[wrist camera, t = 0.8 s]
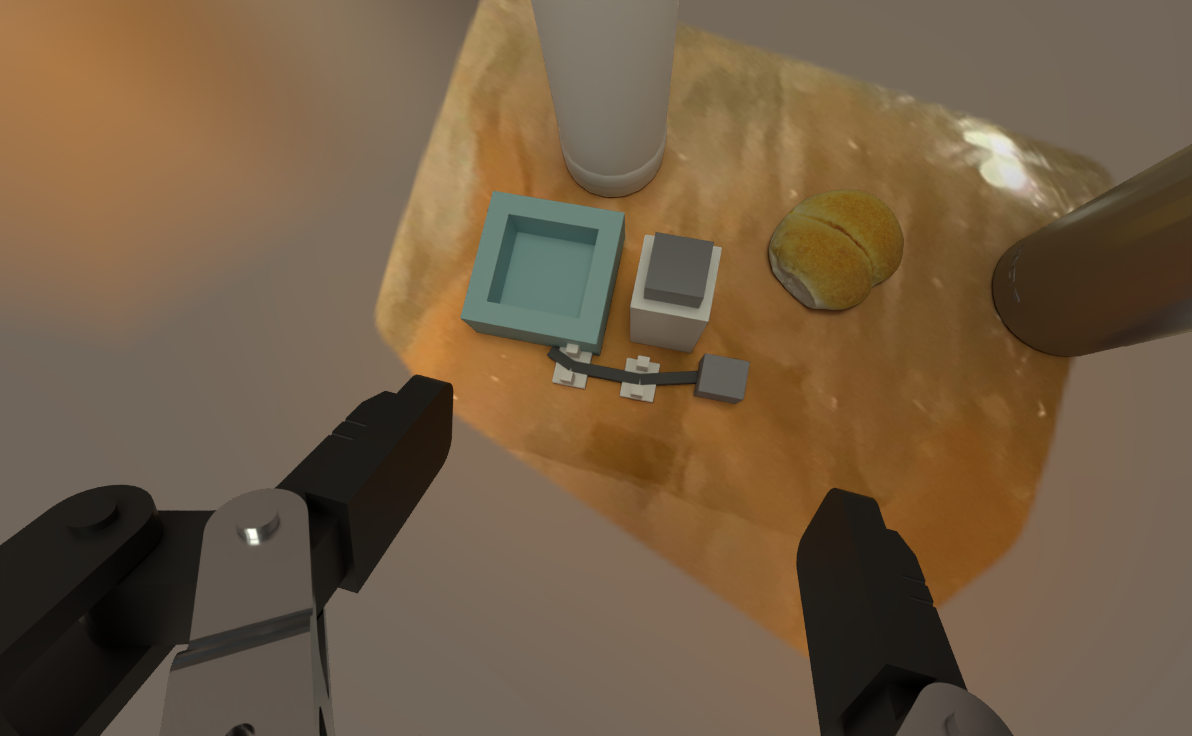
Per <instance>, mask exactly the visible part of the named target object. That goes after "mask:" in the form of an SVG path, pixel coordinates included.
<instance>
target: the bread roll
mask: <svg viewBox="0 0 1192 736" xmlns="http://www.w3.org/2000/svg"><path fill="white" fill-rule="evenodd" d="M903 244H904V239H903V234H902V230H901V227H900V225H899V222H898V220H897V218H896V216H895V215H894V213H893V212H892V211H891V209H890V208H889V207H888V206H887V205H886V204H885V203H884V202H882V201H881V200H880V199H878V198H877V197H875V196H873V195H872V194H869V193H866V192H862V191H858V190H836V191H830V192H825V193H821V194H817V195H814V196H812V197H810V198H808V199H806V200H804V201H803V202H801V203H800V204H798V205H797V206H796V207H795V208H794V209H793V210H792V211H791V212H790V213H789V214H788V215H787V216H786V217H785V218H784V219H783V221H782V222H781V223H780V224H779V226H778V227H777V229H776V230H775V232H774V234H773V236H772V239H771V243H770V246H769V258H770V262H771V266H772V271H773V273H774V274H775V276H776V277H777V278H778V279H779V280H780V281H781V283H782V284H783V285H784V287H785V288H786V289H787V290H788V291H789V292H790V293H791V294H792V295H793V296H794V297H796V298H797V299H798V300H799V301H800V302H801V303H803V304H804V305H806V306H807V307H809V308H812V309H829V310H842V309H846V308H849V307H852V306H854V305H857V304H859V303H860V302H862V301H863V300H864V299H865V298H866V297H867V296H868V294H869V293H870V291H871V288H872V287H873V286H874V285H875V284H878V283H880V282H882V281H884V280H885V279H887V278H889V277H890V276H891V275H892V274H893V273H894V272H895V271H896V270H897V268H898V267H899V264H900V262H901V259H902V254H903Z"/></svg>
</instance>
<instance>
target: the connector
mask: <svg viewBox="0 0 1192 736" xmlns="http://www.w3.org/2000/svg"><path fill="white" fill-rule="evenodd" d="M713 245H714V242H711V241H705V240H699V239H693V238H687V237H681V236H675V235H669V234H663V233H657V232H656V233H655V236H651V235H645V238H644V243H643V248H642V253H641V257H640V262H639V267H638V272H637V277H636V282H635V287H634V291H633V296H632V301H631V306H630V342H635V343H640V344H645V345H650V346H656V347H661V348H666V349H671V350H677V351H682V352H687V353H691V352H692V350H693V348H694V346H695V345H696V343H697V341H698V339H699V338H700V336H701V334H702V332H703V330H704V329H705V327H706V325H707V323H708V321H709V316H710V310H711V305H712V299H713V294H714V288H715V283H716V277H717V272H718V266H719V260H720V255H721V249H722V247H716V246H713Z"/></svg>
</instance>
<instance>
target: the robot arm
mask: <svg viewBox="0 0 1192 736" xmlns="http://www.w3.org/2000/svg"><path fill="white" fill-rule="evenodd" d="M993 296H994V300H995V304H996V308H997V310H998V312H999V314H1000V316H1001V318H1002V320H1003V321H1004V322H1005V324H1006V325H1007V326H1008V328H1009V329H1010V330H1011V331H1012V332H1013V333H1014V334H1015V335H1016V336H1017V337H1018V338H1020V339H1021V340H1022V341H1023V342H1025V343H1027V344H1028V345H1030V346H1032V347H1033V348H1035V349H1037V350H1040V351H1043V352H1046V353H1048V354H1052V355H1058V356H1064V357H1066V356H1082V355H1087V354H1091V353H1095V352H1100V351H1104V350H1109V349H1113V348H1118V347H1121V346H1130V345H1134V344H1138V343H1143V342H1147V341H1151V340H1155V339H1160V338H1164V337H1168V336H1173V335H1177V334H1181V333H1186V332H1190V331H1192V144H1191V145H1189V146H1187V147H1185V148H1184V149H1182V150H1180V151H1178V152H1177V153H1175V154H1173V155H1171V156H1169V157H1168V158H1166V159H1164V160H1162V161H1161V162H1159V163H1157V164H1155V165H1153V166H1152V167H1150V168H1148V169H1146V170H1145V171H1143V172H1141V173H1139V174H1137V175H1136V176H1134V177H1132V178H1130V179H1129V180H1127V181H1125V182H1123V183H1122V184H1120V185H1118V186H1116V187H1114V188H1113V189H1111V190H1109V191H1107V192H1105V193H1104V194H1102V195H1100V196H1098V197H1097V198H1095V199H1093V200H1091V201H1089V202H1088V203H1086V204H1084V205H1082V206H1081V207H1079V208H1077V209H1075V210H1073V211H1072V212H1070V213H1068V214H1066V215H1065V216H1063V217H1061V218H1059V219H1057V220H1055V221H1054V222H1052V223H1050V224H1048V225H1047V226H1045V227H1043V228H1041V229H1040V230H1038V231H1036V232H1034V233H1032V234H1031V235H1029V236H1027V237H1025V238H1024V239H1022V240H1020V241H1019V242H1017V243H1016V244H1015V245H1013V246H1012V247H1011V248H1009V249H1008V251H1007V252H1006V253H1005V254H1004V255H1003V256H1002V258H1001V259H1000V261H999V263H998V265H997V268H996V270H995V274H994V279H993ZM452 416H453V386H452V384H451V383H448V382H444V381H440V380H436V379H433V378H429V377H425V376H422V375H414V376H413V377H412V378H411V379H410V380H409V381H408V382H407V383H406V384H405V385H404V386H403V387H402V388H401V390H399V392H398V393H397V394H395V393H392V392H388V391H384V392H382V393H380V394H378V395H376V396H374V397H372V398H370V399H368V400H366V401H364V402H362V403H361V404H360V405H359V406H358V407H357V408H356V409H355V410H354V411H353V412H352V413H351V414H350V415H349V416H348V417H347V418H346V420H345V422H342V423H341V424H339V425H338V427H337V428H335V429H334V430H333V432H332V435H328V436H327V437H326V438H325V439H324V440H323V441H322V442H321V443H320V444H319V445H318V446H317V447H316V448H315V449H314V450H313V451H312V452H311V453H310V454H309V455H308V456H307V457H306V458H305V459H304V460H303V461H302V462H301V463H300V464H299V465H298V466H297V467H296V468H295V469H294V470H293V471H292V472H291V473H290V474H289V475H288V476H287V477H286V478H285V479H284V480H283V481H282V482H281V483H280V484H279V485H278V486H277V487H275V488H274V489H260V490H256V491H251V492H248V493H245V494H242V495H240V496H238V497H236V498H233V499H232V500H230V501H228V502H227V503H225V504H224V505H223V506H221V507H220V508H219V509H218V510H214V511H159V510H158V511H157V509H156V506H155V504H154V501H153V499H152V497H151V495H150V494H149V493H148V492H147V491H145V490H143V489H141V488H139V487H136V486H130V485H110V486H104V487H98V488H94V489H90V490H87V491H84V492H81V493H78V494H76V495H74V496H71V497H69V498H67V499H65V500H63V501H62V502H60V503H58V504H56V505H55V506H53V507H52V508H50V509H49V510H47V511H46V512H45V513H43V514H42V515H41V516H39V517H38V518H37V519H35V520H34V521H33V522H31V523H30V524H29V525H27V526H26V527H25V528H23V529H22V530H20V531H19V532H18V533H17V534H15V535H14V536H12V537H11V538H10V539H8V540H7V541H6V542H4V543H3V544H2V545H0V736H100V735H101V733H102V732H103V731H104V730H105V729H106V728H107V726H108V725H109V724H110V723H111V721H112V720H113V719H114V718H115V717H116V716H117V715H118V713H119V712H120V711H121V710H122V709H123V707H124V706H125V705H126V704H127V703H128V701H129V700H130V699H131V698H132V697H133V695H134V694H135V693H136V692H137V691H138V689H139V688H140V687H141V685H143V684H144V682H145V681H146V680H147V679H148V678H149V676H150V675H151V674H152V673H153V672H154V670H155V669H156V668H157V667H158V666H159V664H160V663H161V662H162V661H163V660H164V658H165V657H166V656H167V655H168V654H169V652H170V651H171V650H172V649H173V647H175V645H179V644H189V645H188V648H187V650H185V651H182V652H179V653H177V654H176V656H175V658H174V660H173V662H172V665H171V668H170V673H169V678H168V684H167V690H166V698H165V704H164V710H163V717H162V723H161V730H160V736H335V728H334V720H333V710H332V698H331V683H330V670H329V655H328V641H327V628H326V613H325V605H326V603H327V602H328V600H329V599H330V598H331V596H332V595H333V593H334V592H335V591H336V589H337V588H342V589H345V590H348V591H351V592H355V593H358V592H359V590H360V589H361V588H362V586H363V585H364V583H365V582H366V580H367V579H368V577H369V576H370V574H371V573H372V571H373V570H374V568H375V567H376V565H377V564H378V562H379V561H380V559H381V558H382V556H383V555H384V553H385V552H386V550H387V549H388V547H389V546H390V544H391V543H392V541H393V540H394V538H395V537H396V535H397V534H398V532H399V531H400V529H401V528H402V526H403V525H404V523H405V522H406V520H407V518H408V517H409V516H410V514H411V513H412V511H413V510H414V508H415V507H416V505H417V504H418V502H419V501H420V499H421V498H422V496H423V495H424V493H425V492H426V490H427V489H428V487H429V486H430V484H431V483H432V481H433V479H434V478H435V477H436V475H437V474H438V472H439V471H440V469H441V468H442V466H443V464H444V462H445V460H446V458H447V456H448V452H449V449H450V446H451V440H452ZM796 565H797V574H798V580H799V587H800V594H801V601H802V608H803V615H804V622H805V629H806V636H807V643H808V650H809V656H810V663H811V670H812V677H813V684H814V691H815V698H816V705H817V712H818V719H819V725H820V732H821V736H1013V734H1012V733H1011V731H1010V730H1009V728H1008V727H1007V726H1006V725H1005V723H1004V722H1003V721H1002V720H1001V718H1000V717H999V716H998V715H997V714H996V713H995V712H994V711H993V710H992V709H991V708H990V707H989V706H988V705H986V704H985V703H984V702H983V701H981V700H980V699H979V698H977V697H976V696H975V695H973V694H971V693H970V692H968V690H967V688H966V686H965V683H964V680H963V678H962V675H961V672H960V670H959V667H958V665H957V662H956V659H955V657H954V654H953V652H952V649H951V646H950V644H949V641H948V639H947V636H946V633H945V631H944V628H943V626H942V623H941V620H940V618H939V615H938V612H937V610H936V608H935V607H933V599H932V597H931V594H930V591H929V589H928V586H925V578H924V576H923V573H922V571H921V568H920V565H919V563H918V560H917V557H916V555H915V554H914V553H913V552H912V550H911V549H910V548H909V546H908V545H907V544H906V543H905V541H904V540H903V539H902V537H901V536H900V535H899V534H898V532H897V531H893V530H890V529H886V526H885V523H884V521H883V518H882V515H881V512H880V509H879V506H878V504H877V502H876V500H875V499H874V498H871V497H867V496H864V495H860V494H856V493H853V492H849V491H845V490H841V489H838V488H833V489H831V490H830V491H829V492H828V493H827V495H826V496H825V498H824V500H823V501H822V503H821V505H820V507H819V508H818V510H817V512H816V513H815V515H814V517H813V519H812V520H811V522H810V524H809V525H808V527H807V529H806V531H805V532H804V534H803V536H802V538H801V540H800V543H799V547H798V551H797V561H796Z"/></svg>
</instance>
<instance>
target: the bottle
mask: <svg viewBox="0 0 1192 736" xmlns="http://www.w3.org/2000/svg"><path fill="white" fill-rule="evenodd" d="M531 1H532V6H533V11H534V15H535V20H536V25H537V29H538V34H539V39H540V43H541V48H542V52H543V57H544V62H545V66H546V71H547V76H548V80H549V85H550V89H551V94H552V99H553V103H554V108H555V113H556V117H557V122H558V127H559V137H560V142H561V147H562V152H563V156H564V160H565V162H566V164H567V168H568V171H569V172H570V174H571V175H572V177H573V178H574V180H575V181H576V183H578V184H579V185H580V186H582V187H583V188H584V189H586V190H587V191H588V192H590V193H593V194H597V195H600V196H604V197H622V196H626V195H629V194H631V193H634V192H636V191H639V190H641V189H642V188H643V187H644V186H645V185H647V184H648V183H649V182H650V181H651V180H652V179H653V178H654V176H655V175H656V173H657V171H658V169H659V168H660V166H661V162H662V157H663V154H664V148H665V141H666V135H667V123H666V121H667V112H668V102H669V93H670V83H671V74H672V64H673V55H674V46H675V36H676V27H677V17H678V8H679V0H531Z"/></svg>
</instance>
